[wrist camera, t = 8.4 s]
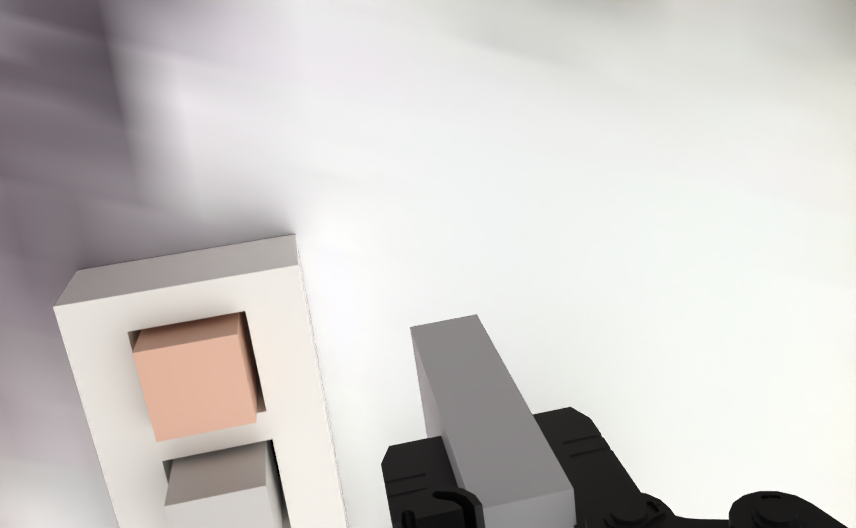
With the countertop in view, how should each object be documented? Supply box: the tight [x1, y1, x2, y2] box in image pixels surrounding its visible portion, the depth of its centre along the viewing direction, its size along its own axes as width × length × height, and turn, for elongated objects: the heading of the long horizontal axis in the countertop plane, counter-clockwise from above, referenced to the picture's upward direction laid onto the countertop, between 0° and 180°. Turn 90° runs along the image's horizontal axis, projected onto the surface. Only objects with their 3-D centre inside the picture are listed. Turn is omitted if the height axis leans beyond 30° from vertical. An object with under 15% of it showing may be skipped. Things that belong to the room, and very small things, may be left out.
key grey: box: [164, 440, 282, 528], centre depth 41 cm, size 5×5×6 cm
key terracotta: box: [133, 311, 258, 442], centre depth 40 cm, size 5×5×6 cm
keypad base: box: [53, 234, 349, 528], centre depth 43 cm, size 11×23×5 cm, turn 7°
